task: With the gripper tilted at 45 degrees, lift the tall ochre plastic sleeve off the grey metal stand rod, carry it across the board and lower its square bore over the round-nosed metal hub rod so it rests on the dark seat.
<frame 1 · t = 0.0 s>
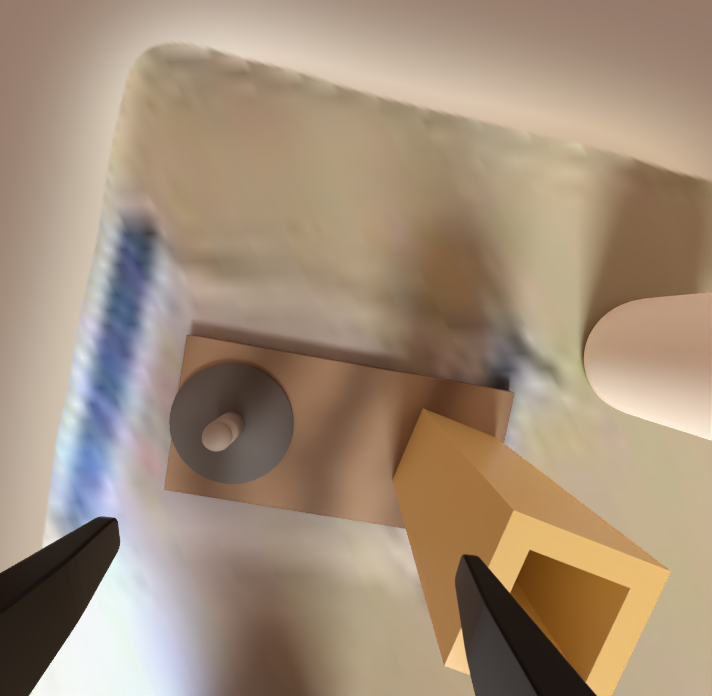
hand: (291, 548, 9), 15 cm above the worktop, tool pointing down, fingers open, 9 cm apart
board: (339, 437, 24), on the worktop
mug: (654, 365, 25), on the worktop
sleeve: (443, 458, 24), point 1 cm above the worktop, touching board
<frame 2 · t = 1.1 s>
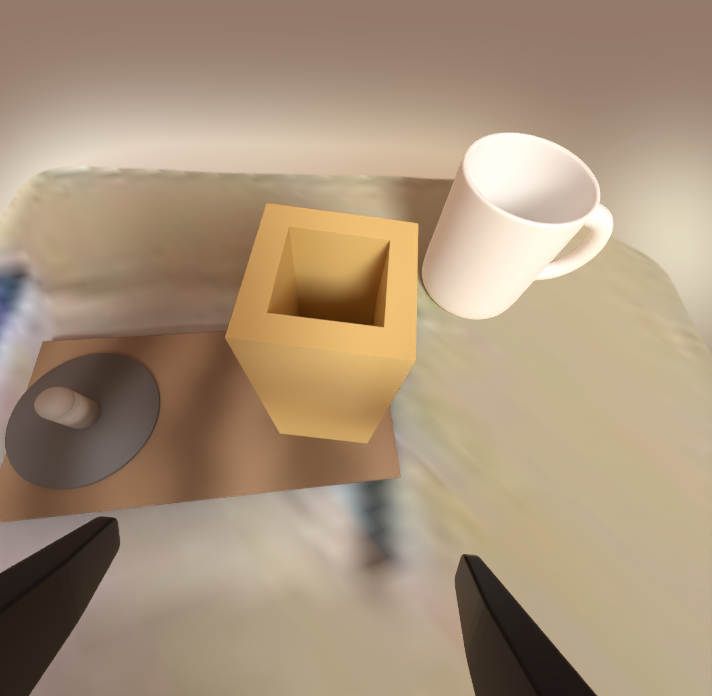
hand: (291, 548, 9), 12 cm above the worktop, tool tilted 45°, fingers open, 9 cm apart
board: (217, 409, 22), on the worktop
mug: (486, 286, 29), on the worktop
sleeve: (329, 396, 23), point 1 cm above the worktop, touching board
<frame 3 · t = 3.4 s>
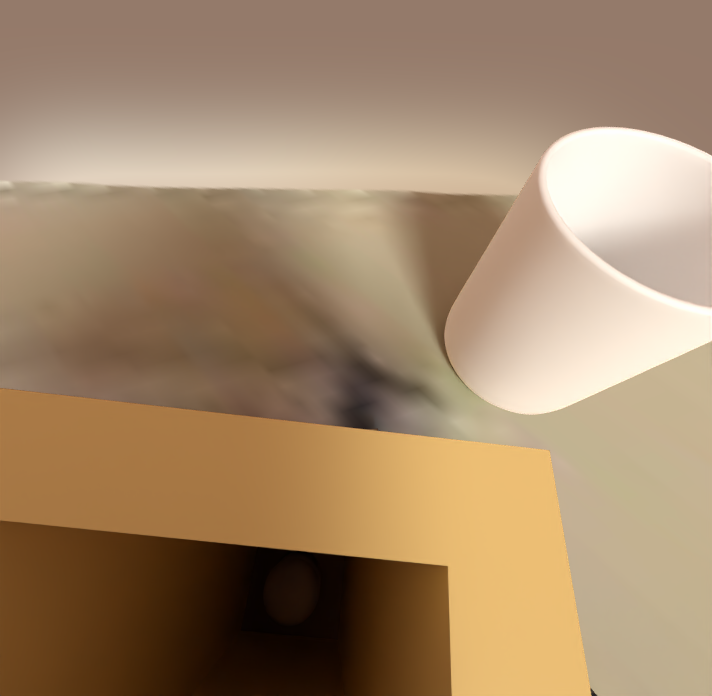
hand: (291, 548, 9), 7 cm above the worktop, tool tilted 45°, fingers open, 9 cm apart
board: (104, 602, 13), on the worktop
mug: (537, 354, 20), on the worktop
sleeve: (297, 576, 13), point 1 cm above the worktop, touching board, gripper
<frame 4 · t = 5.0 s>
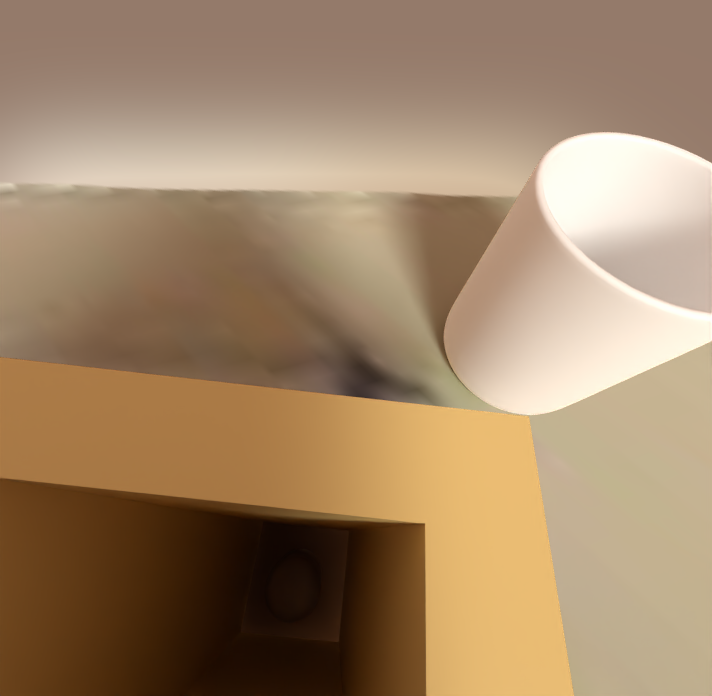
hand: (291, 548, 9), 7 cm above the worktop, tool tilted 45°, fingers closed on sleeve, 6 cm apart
board: (109, 599, 13), on the worktop
mug: (536, 355, 20), on the worktop
sleeve: (298, 577, 13), point 1 cm above the worktop, touching gripper
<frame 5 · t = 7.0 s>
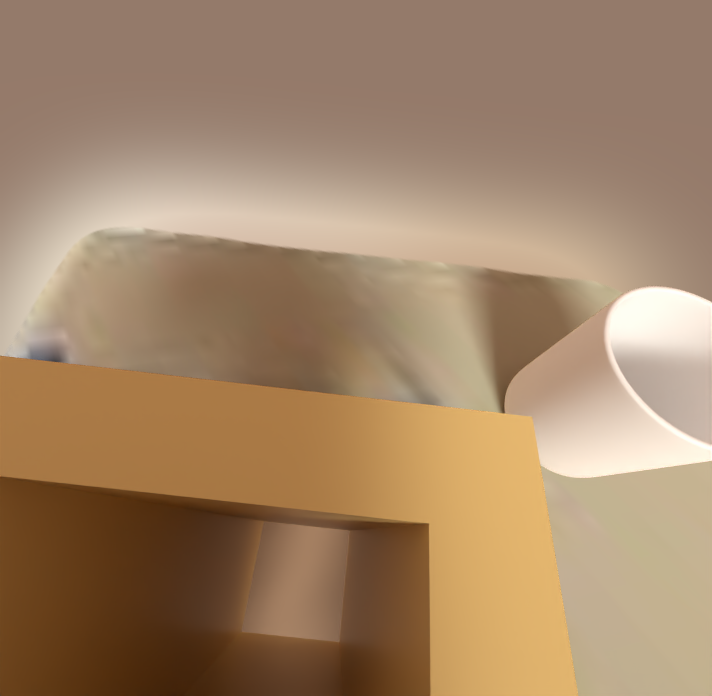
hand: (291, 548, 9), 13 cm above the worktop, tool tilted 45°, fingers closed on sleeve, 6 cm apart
board: (253, 570, 19), on the worktop
mug: (579, 425, 24), on the worktop
sleeve: (299, 577, 13), point 7 cm above the worktop, touching gripper
when the fingers open (8 cm above the worktop, at t = 10.0 s): sleeve drops 1 cm, resting on board.
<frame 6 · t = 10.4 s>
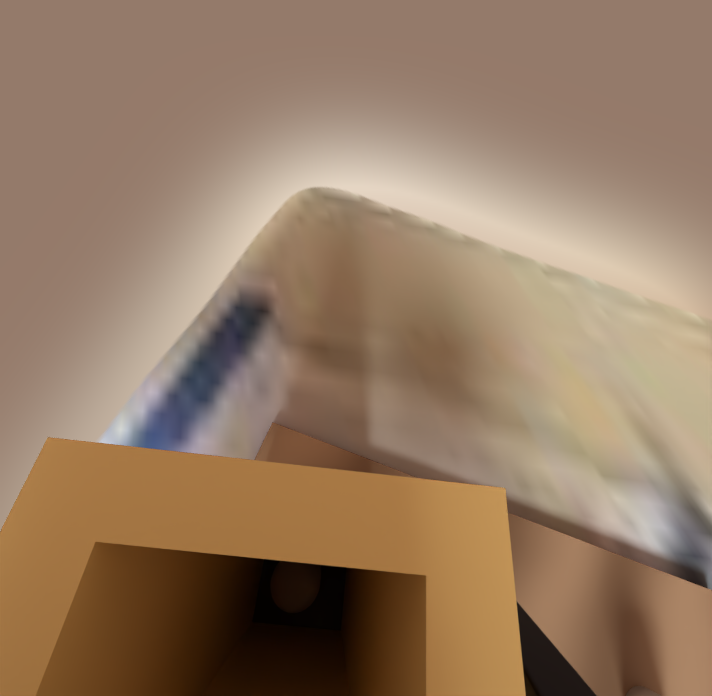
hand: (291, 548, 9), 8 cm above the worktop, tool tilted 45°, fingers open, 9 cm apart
board: (459, 634, 15), on the worktop
sleeve: (303, 573, 14), point 1 cm above the worktop, touching board
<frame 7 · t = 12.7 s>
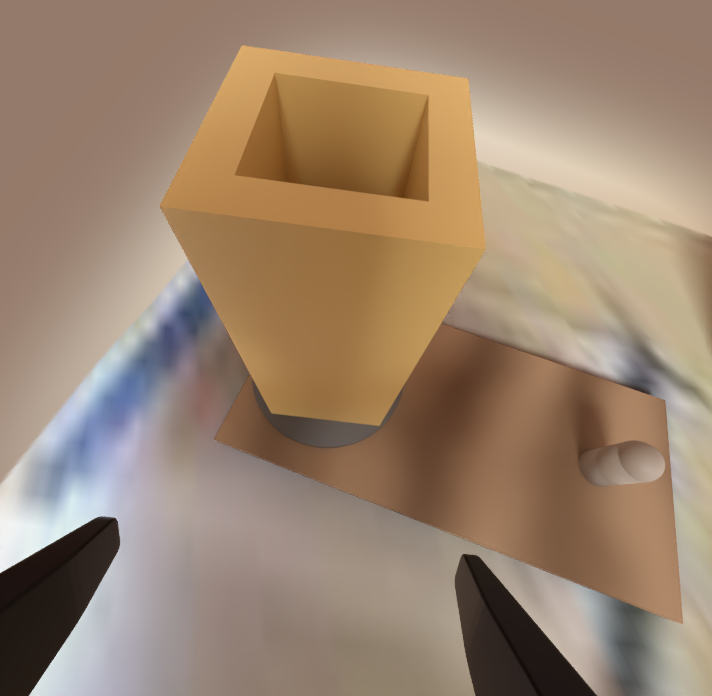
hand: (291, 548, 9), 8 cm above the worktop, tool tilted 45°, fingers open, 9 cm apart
board: (453, 421, 19), on the worktop
sleeve: (332, 369, 19), point 1 cm above the worktop, touching board
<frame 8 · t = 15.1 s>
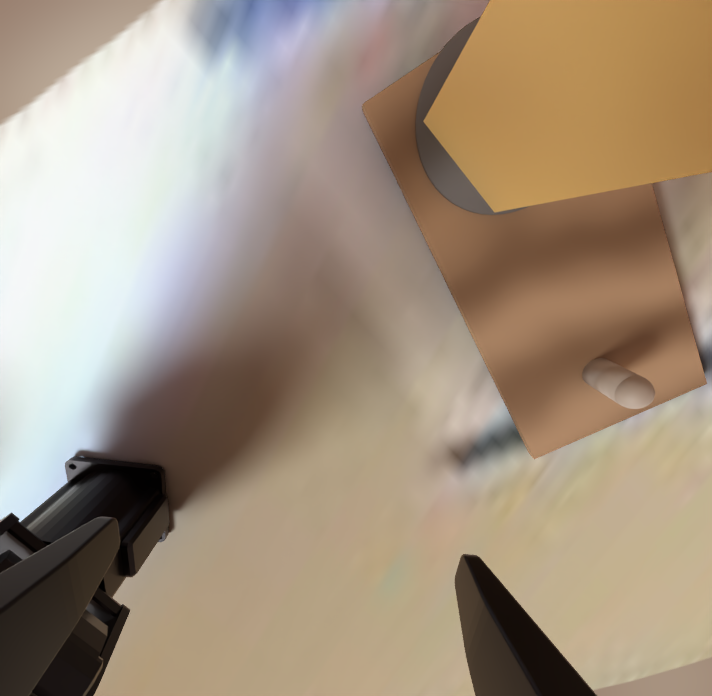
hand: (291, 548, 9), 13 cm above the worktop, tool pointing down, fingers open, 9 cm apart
board: (547, 259, 19), on the worktop
sleeve: (506, 123, 16), point 1 cm above the worktop, touching board
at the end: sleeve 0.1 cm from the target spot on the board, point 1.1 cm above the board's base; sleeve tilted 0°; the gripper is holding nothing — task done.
